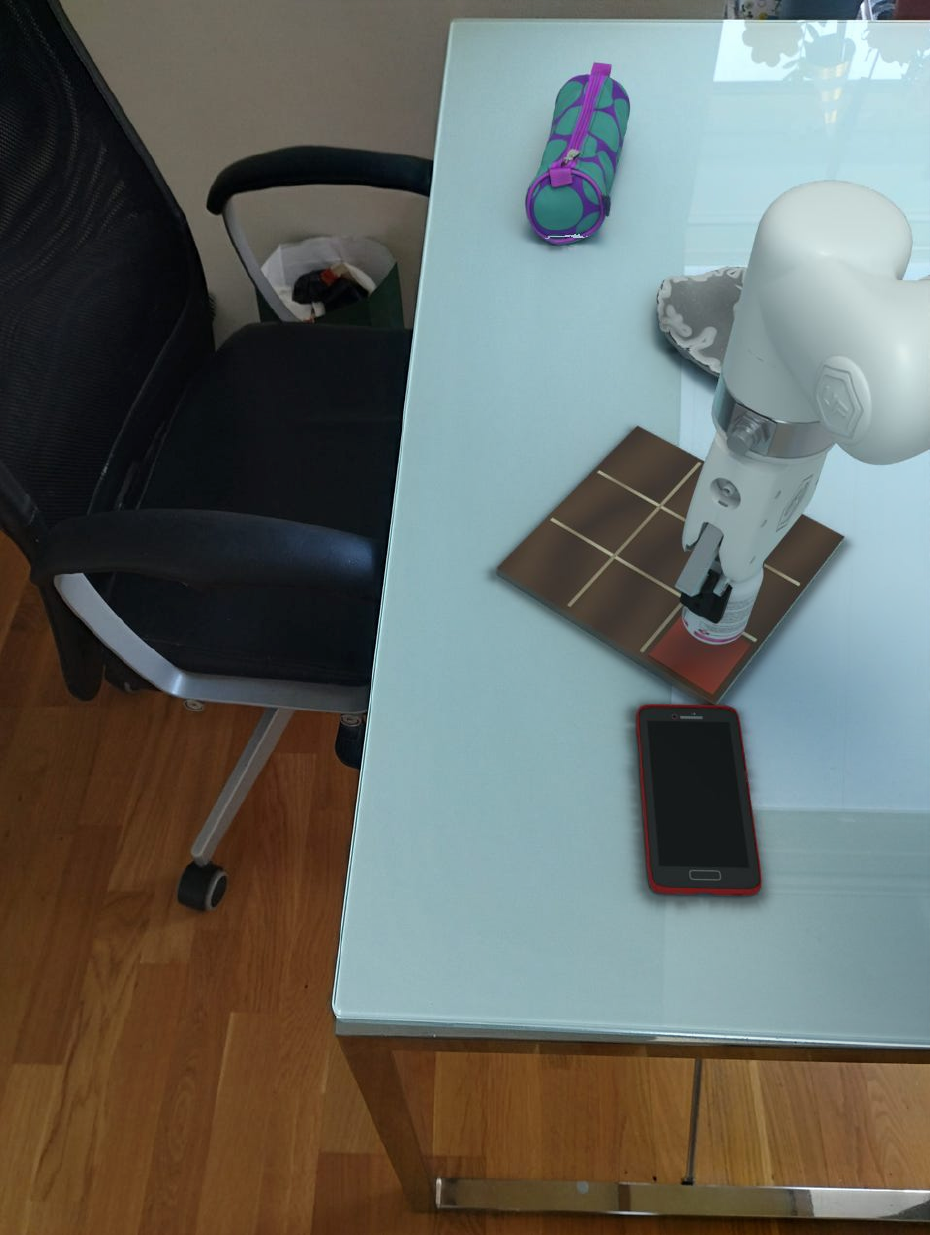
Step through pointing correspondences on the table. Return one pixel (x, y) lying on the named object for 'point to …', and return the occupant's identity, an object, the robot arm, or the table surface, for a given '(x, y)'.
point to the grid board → (653, 567)
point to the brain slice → (701, 314)
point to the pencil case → (579, 158)
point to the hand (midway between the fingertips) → (721, 585)
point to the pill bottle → (727, 611)
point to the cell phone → (696, 801)
